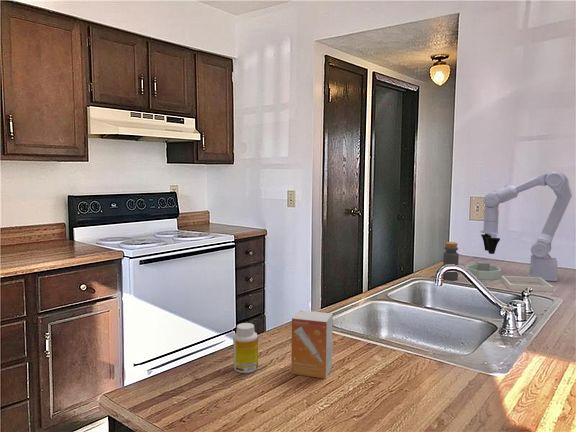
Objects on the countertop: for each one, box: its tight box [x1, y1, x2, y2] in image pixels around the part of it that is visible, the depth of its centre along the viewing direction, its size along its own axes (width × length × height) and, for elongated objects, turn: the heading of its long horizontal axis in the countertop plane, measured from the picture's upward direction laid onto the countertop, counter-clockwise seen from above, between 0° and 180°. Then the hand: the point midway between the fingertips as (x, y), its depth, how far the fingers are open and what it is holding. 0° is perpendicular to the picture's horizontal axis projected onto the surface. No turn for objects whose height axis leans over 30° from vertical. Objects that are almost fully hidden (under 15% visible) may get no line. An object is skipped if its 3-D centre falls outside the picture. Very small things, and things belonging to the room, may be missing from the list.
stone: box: [475, 260, 491, 271], centre depth 196 cm, size 4×4×5 cm
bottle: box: [442, 241, 459, 282], centre depth 190 cm, size 6×6×15 cm
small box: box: [290, 309, 334, 380], centre depth 105 cm, size 8×6×13 cm
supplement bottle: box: [232, 322, 259, 374], centre depth 106 cm, size 6×6×10 cm
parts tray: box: [500, 275, 554, 293], centre depth 180 cm, size 15×15×2 cm
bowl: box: [464, 263, 502, 281], centre depth 196 cm, size 13×13×4 cm
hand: (489, 252), depth 202 cm, fingers open, 7 cm apart
